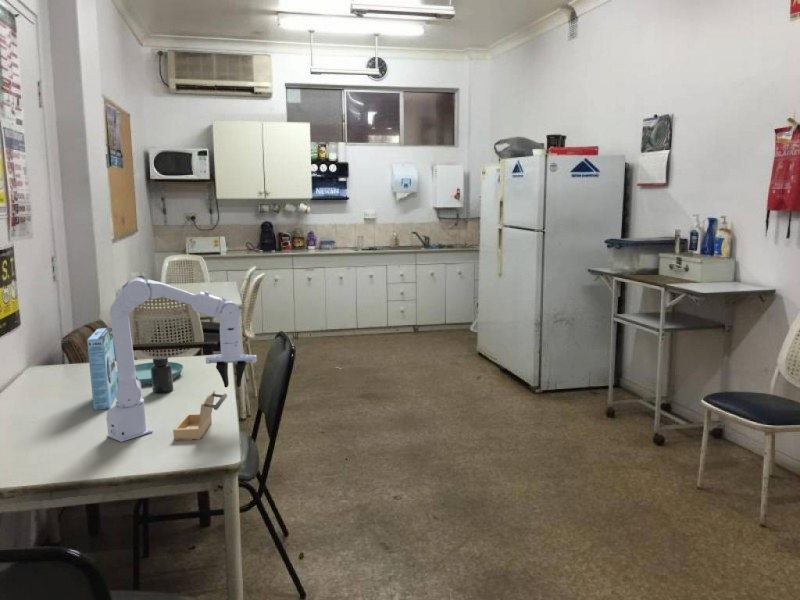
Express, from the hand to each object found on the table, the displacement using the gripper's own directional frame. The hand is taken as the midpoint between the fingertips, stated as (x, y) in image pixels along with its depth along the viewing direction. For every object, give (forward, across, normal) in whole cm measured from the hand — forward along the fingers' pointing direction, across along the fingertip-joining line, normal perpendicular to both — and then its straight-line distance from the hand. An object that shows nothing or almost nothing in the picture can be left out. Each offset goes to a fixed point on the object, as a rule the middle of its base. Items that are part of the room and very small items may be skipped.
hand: (232, 386), depth 180 cm
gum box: (+11, +47, -22) cm, 53 cm away
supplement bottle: (+11, +32, -31) cm, 46 cm away
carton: (+10, +10, +9) cm, 17 cm away
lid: (+4, +6, +9) cm, 11 cm away
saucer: (+11, +42, -50) cm, 66 cm away
